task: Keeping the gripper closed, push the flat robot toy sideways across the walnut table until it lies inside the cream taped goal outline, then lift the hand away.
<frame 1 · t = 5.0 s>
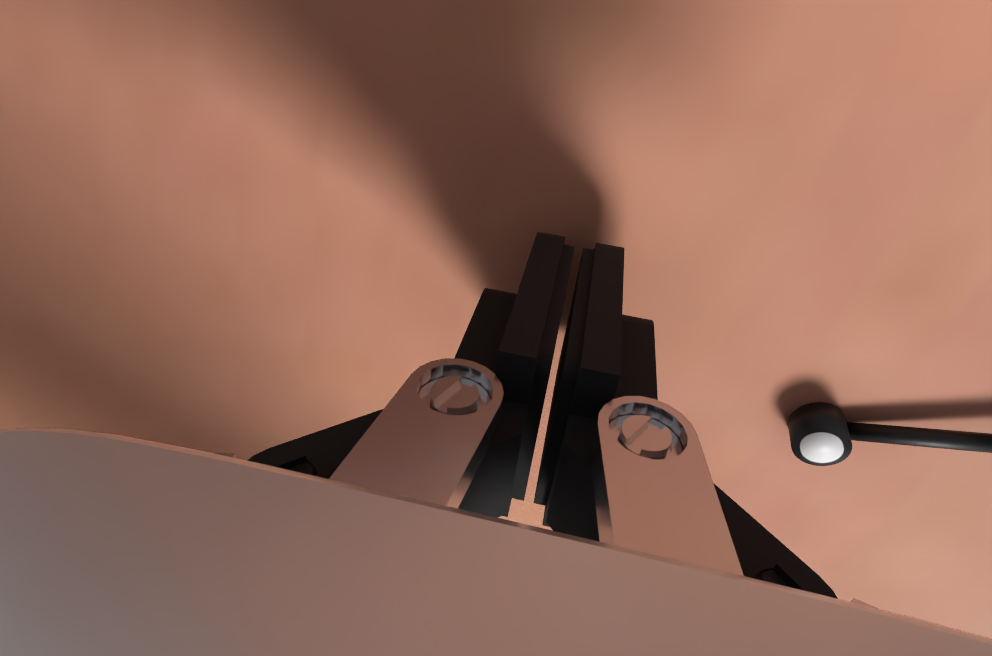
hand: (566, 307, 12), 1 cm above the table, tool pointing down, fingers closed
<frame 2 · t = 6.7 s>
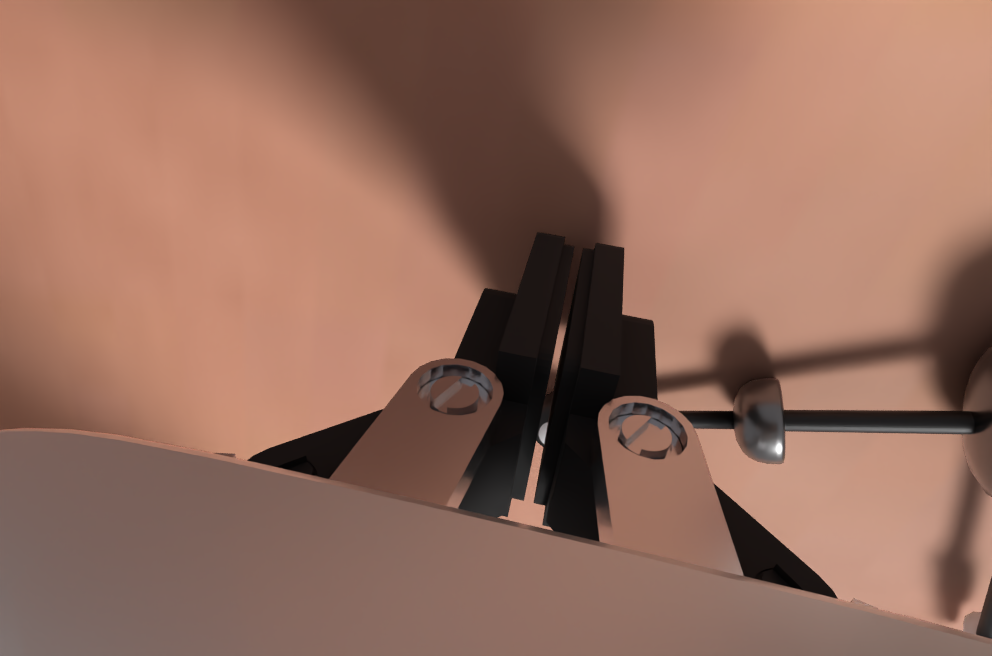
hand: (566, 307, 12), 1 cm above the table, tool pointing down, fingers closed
robot toy: (916, 366, 12), on the table
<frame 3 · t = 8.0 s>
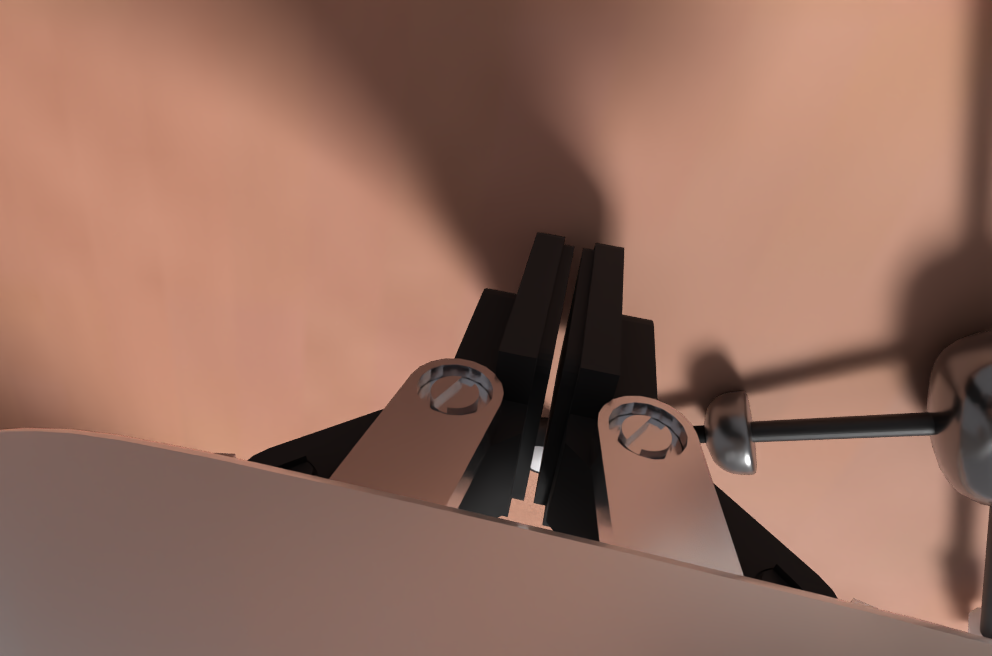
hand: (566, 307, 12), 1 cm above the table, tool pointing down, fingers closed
robot toy: (883, 369, 12), on the table
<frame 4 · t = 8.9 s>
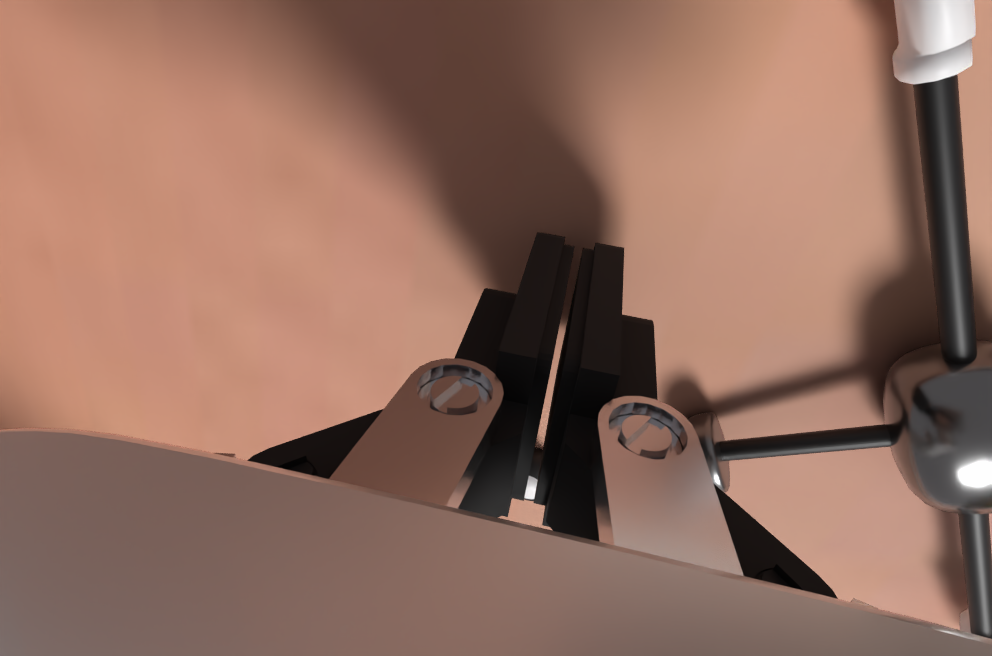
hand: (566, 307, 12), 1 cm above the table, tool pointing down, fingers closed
robot toy: (846, 382, 13), on the table, touching gripper
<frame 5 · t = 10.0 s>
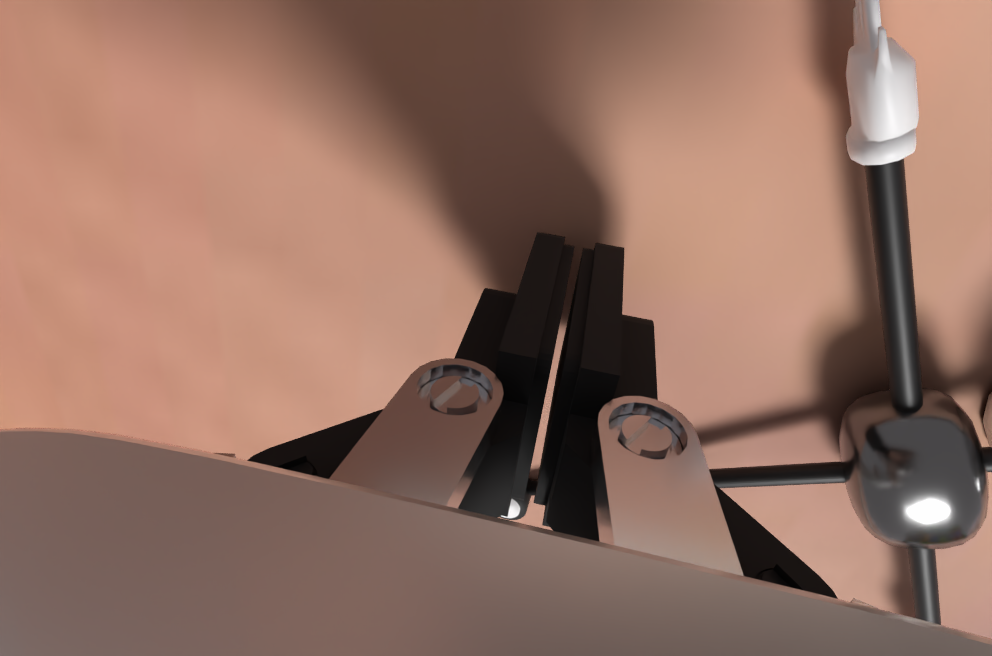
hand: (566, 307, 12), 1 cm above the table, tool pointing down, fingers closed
robot toy: (808, 417, 14), on the table
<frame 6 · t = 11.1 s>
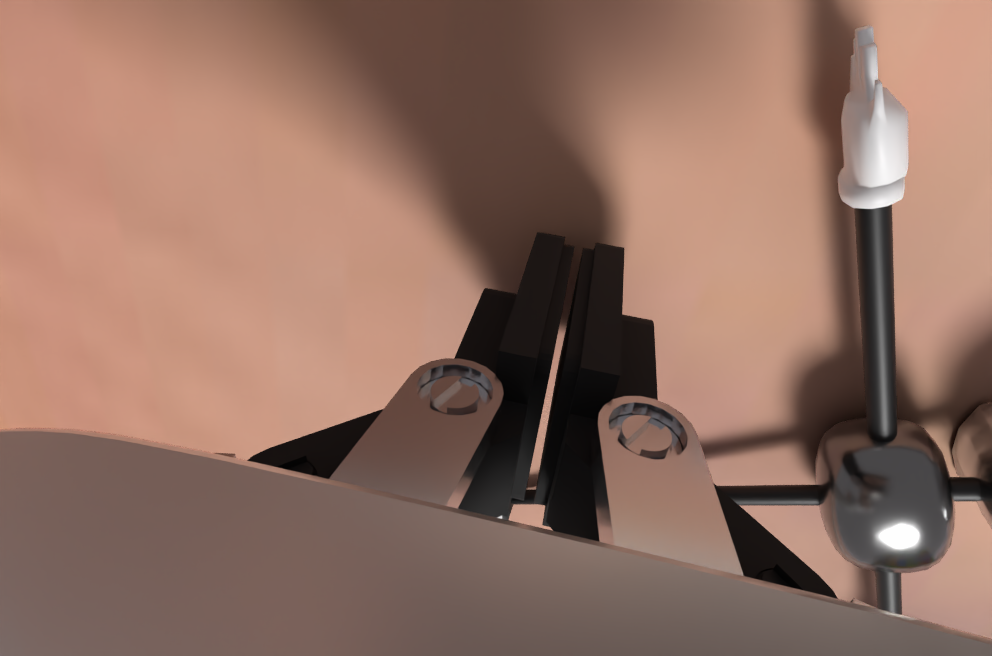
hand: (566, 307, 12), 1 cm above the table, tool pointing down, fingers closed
robot toy: (786, 439, 14), on the table
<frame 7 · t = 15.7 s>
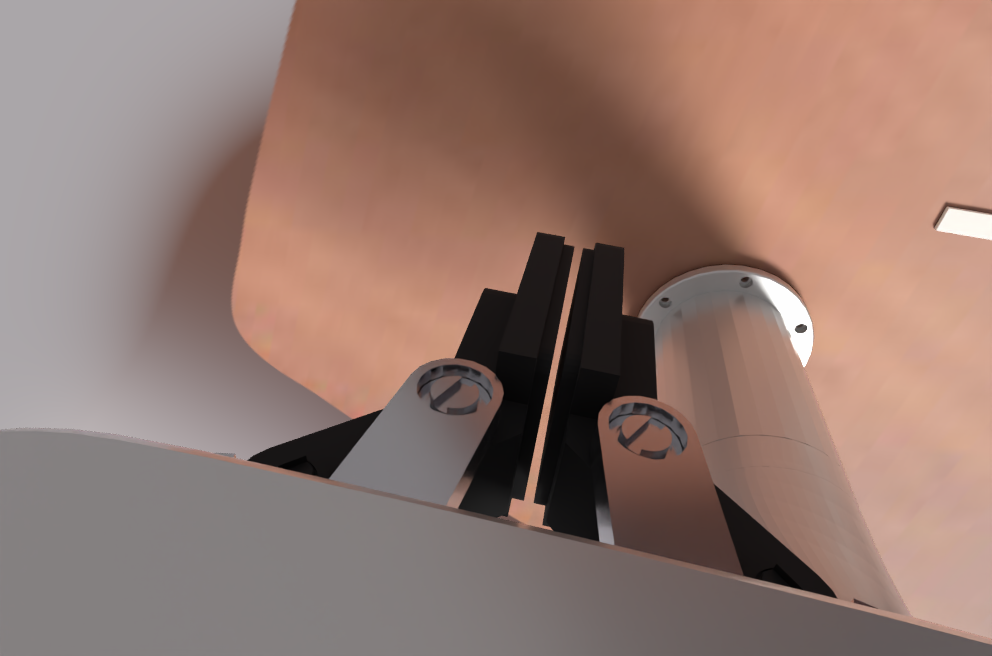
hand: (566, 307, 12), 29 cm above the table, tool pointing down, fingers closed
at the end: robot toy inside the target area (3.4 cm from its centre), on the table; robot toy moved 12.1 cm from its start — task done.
